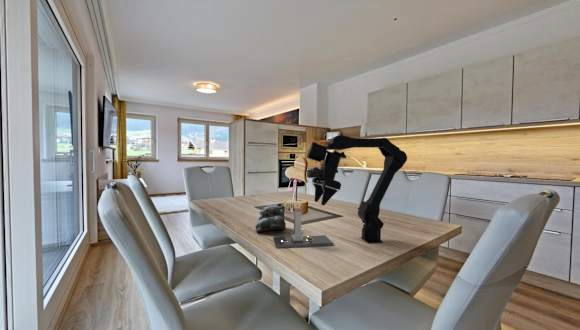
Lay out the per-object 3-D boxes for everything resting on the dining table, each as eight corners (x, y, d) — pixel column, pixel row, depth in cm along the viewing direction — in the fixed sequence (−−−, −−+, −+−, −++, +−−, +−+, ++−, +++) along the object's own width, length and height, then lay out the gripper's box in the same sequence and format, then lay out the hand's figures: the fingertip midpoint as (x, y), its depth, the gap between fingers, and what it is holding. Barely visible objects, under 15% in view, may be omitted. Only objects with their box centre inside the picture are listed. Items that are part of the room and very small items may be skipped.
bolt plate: (325, 237, 99) (325, 231, 99) (332, 245, 90) (332, 238, 90) (273, 239, 95) (273, 233, 95) (275, 248, 86) (275, 241, 86)
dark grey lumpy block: (249, 232, 104) (251, 202, 110) (265, 236, 113) (266, 208, 119) (276, 227, 97) (277, 195, 103) (292, 232, 106) (291, 203, 112)
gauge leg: (301, 237, 95) (301, 207, 94) (303, 241, 90) (304, 209, 90) (291, 237, 94) (291, 207, 94) (293, 241, 90) (293, 209, 89)
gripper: (306, 160, 102) (295, 194, 101) (318, 158, 83) (305, 200, 82) (329, 168, 104) (319, 202, 103) (347, 168, 85) (334, 209, 84)
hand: (319, 203), depth 93 cm, fingers open, 9 cm apart
